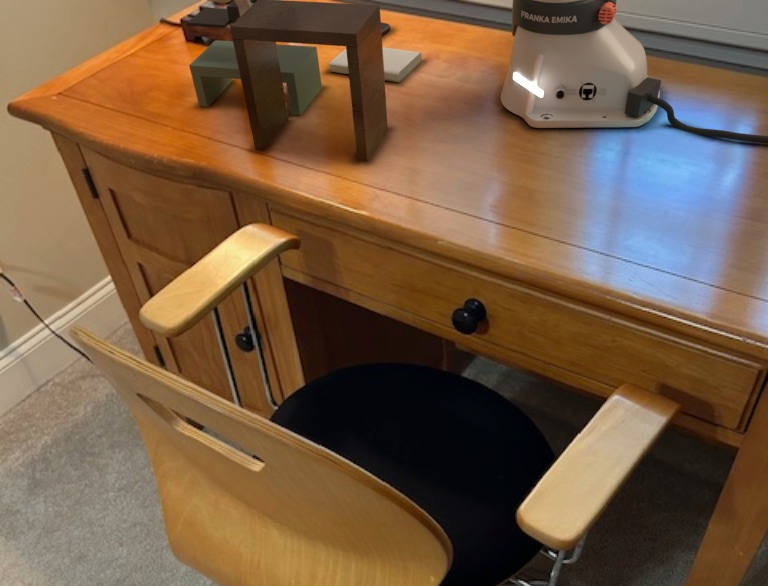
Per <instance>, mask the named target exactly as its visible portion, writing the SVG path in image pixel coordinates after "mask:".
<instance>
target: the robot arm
mask: <svg viewBox="0 0 768 586" xmlns="http://www.w3.org/2000/svg"><path fill="white" fill-rule="evenodd" d="M207 1H208V2H209V3H224V4H225V3H230V2H232V0H207ZM233 1H235V3H236V4H237V6H238V8H239V13H240V17H241V16H242V15H243V14H244V13H245V12H246V11H247V10H248V9H249V8H250V7H251V6H252V5H253V4H254V3H251V2H257V1H258V0H233ZM616 13H617V0H512V7H511V28H512V29H511V33H512V46H511V51H510V52H511V53H510V57H509V63H508V67H507V72H506V76H505V80H504V83H503V86H502V89H501V93H500V95H499V97H500V102H501V104H502V105H503V107H504V108H505V109H506V110H508V111H509V112H511V113H513V114H515V115H517V116H519V117H520V118H522V119H523V120H524V122H526V123H527V124H528V126H530V127H532V128H535V129H536V128H537V129H550V128H551V129H554V128H555V129H559V128H561V129H562V128H563V129H565V128H566V129H568V128H569V129H570V128H572V129H573V128H575V129H576V128H577V129H579V128H638V127H641V126H643V125H645V124H646V123H648V122H649V121H650V120H651V119H652V118H653V117H654V115H656V112H657V111H658V107H660V108H661V109H663V110H664V111H665V112H666V117H667V120H668V123H669V124H670V125H672V126H673V127H674V128H676V129H678V130H681V131H685V132H687V133H690V134H694V135H698V136H703V137H713V138H720V139H726V140H732V141H733V140H734V141H739V142H748V143H758V144H759V143H760V144H768V135H763V134H762V135H760V134H752V133H751V134H749V133H741V132H736V131H729V130H722V129H714V128H713V129H712V128H699V127H694V126H690V125H687V124H685V123H683V122H681V121H680V120H679V119H677V118H676V116H675V111H674V108H673V106H671V104H670V103H668V101H666V100H665V99H662V98H660V97H661V96H660V94H661V91H660V90H661V89H660V88H661V84H662V83H661V82H662V80H661V79H657V78H653V77H651V76H648V61H647V54H646V50H645V47H644V45H643V44H642V43H641V42H640V41H639V40H638V39H636V37H635V36H633V35H632V34H631V32H629V31H628V30H627V29H625V27H624V26H622V25H621V23H619V21H617V20H616V19H615V16H616Z"/></svg>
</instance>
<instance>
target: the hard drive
mask: <svg viewBox="0 0 768 586" xmlns="http://www.w3.org/2000/svg"><path fill="white" fill-rule="evenodd" d="M382 48H383V63H384V78H385V81H390V82H395V83H401V82H402V81H403V80H404V79H405V78H406V77H408V75H409V74H410V73H411V72H412V71H413V70H415V69H416V68H417V67H418V65H420V64H421V62H422V59H423V55H422V52H421V51H416V50H415V51H413V50H408V49H407V50H406V49H400V48H391V47H385V46H382ZM328 67H329V68H328V69H329V72H334V73H338V74H342V75H343V74H344V75H349V71H348V61H347V51H346V48H345V49H344V50H343V51H341V52H340V53H339V54H338V55H336V56H335V57H334V58H333V59H331V60H330V61H329V63H328Z"/></svg>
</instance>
